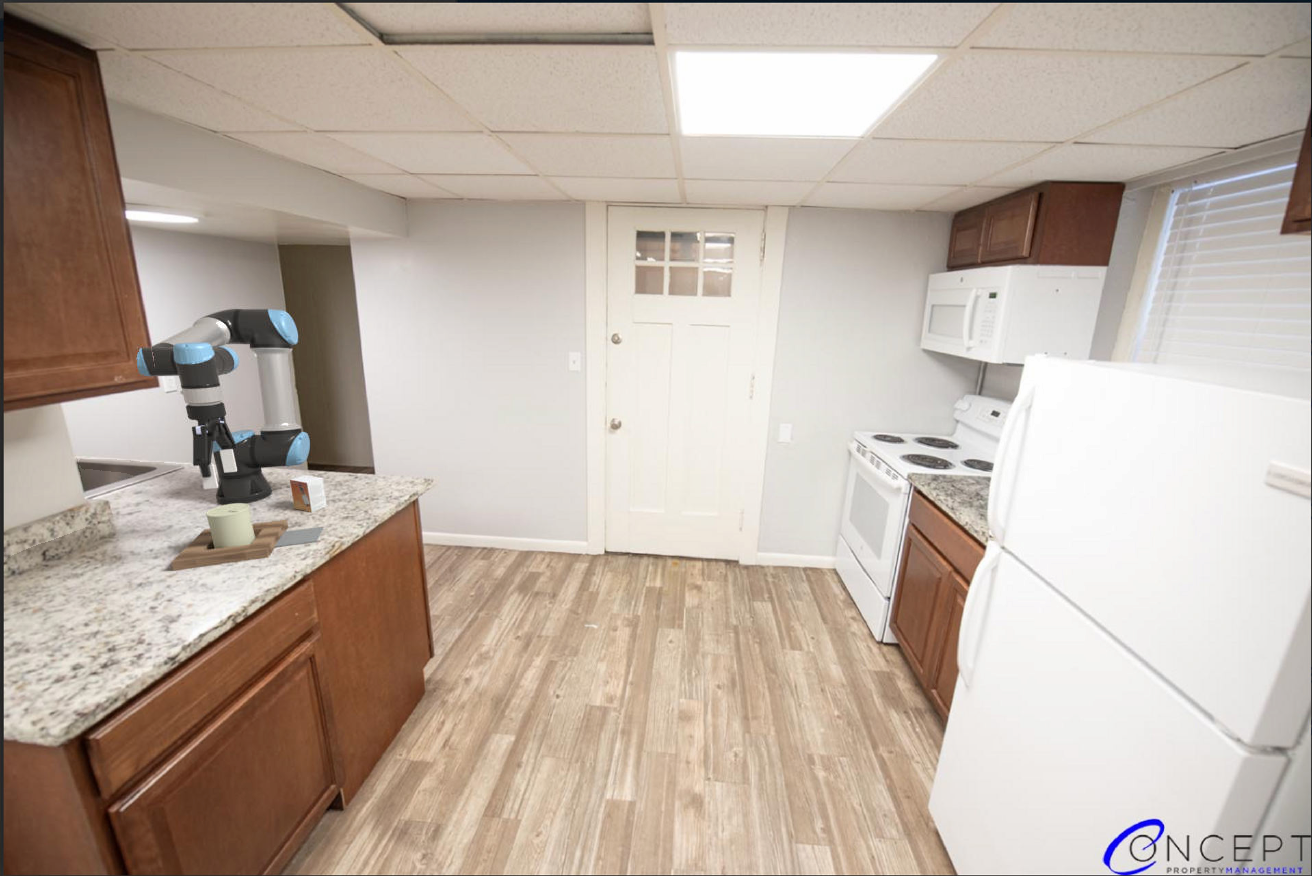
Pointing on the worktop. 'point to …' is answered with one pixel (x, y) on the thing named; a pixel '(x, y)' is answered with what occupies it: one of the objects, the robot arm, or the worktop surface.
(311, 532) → the mat
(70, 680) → the worktop surface
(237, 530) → the can
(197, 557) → the housing
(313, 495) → the small box
